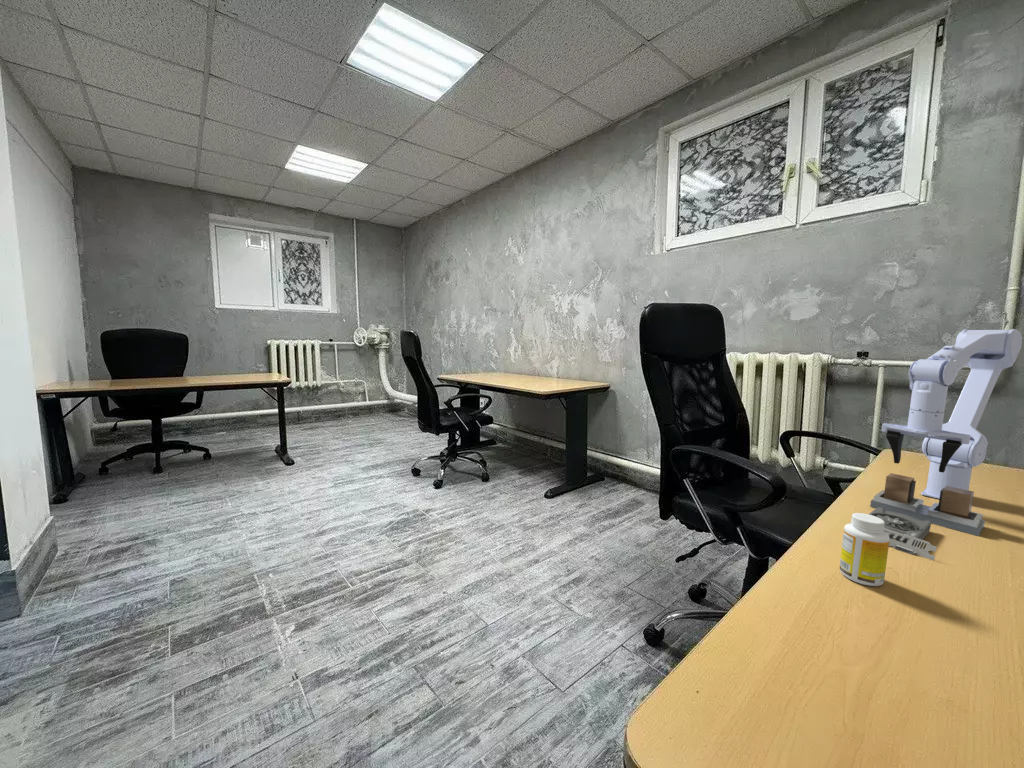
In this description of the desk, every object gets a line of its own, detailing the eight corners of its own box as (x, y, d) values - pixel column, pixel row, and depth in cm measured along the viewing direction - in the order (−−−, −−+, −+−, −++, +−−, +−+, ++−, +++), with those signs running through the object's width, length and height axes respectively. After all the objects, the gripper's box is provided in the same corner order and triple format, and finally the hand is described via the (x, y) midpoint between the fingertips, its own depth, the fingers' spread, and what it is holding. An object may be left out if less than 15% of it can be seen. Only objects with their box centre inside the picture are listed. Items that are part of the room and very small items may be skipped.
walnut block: (883, 500, 95) (886, 476, 94) (887, 497, 97) (891, 473, 97) (908, 507, 92) (912, 481, 91) (913, 503, 94) (916, 478, 93)
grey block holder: (879, 499, 100) (883, 470, 99) (984, 526, 86) (989, 492, 86) (870, 506, 96) (874, 476, 95) (978, 536, 82) (984, 500, 81)
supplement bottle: (890, 582, 65) (899, 522, 64) (872, 591, 63) (881, 528, 61) (849, 565, 70) (856, 508, 69) (831, 572, 68) (838, 513, 66)
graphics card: (935, 546, 71) (850, 519, 81) (932, 566, 72) (847, 537, 81) (952, 524, 81) (874, 502, 91) (949, 541, 82) (872, 518, 91)
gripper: (881, 407, 99) (874, 461, 100) (970, 417, 87) (960, 478, 88) (888, 405, 103) (882, 457, 104) (975, 414, 91) (965, 473, 92)
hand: (918, 466), depth 97 cm, fingers open, 7 cm apart
